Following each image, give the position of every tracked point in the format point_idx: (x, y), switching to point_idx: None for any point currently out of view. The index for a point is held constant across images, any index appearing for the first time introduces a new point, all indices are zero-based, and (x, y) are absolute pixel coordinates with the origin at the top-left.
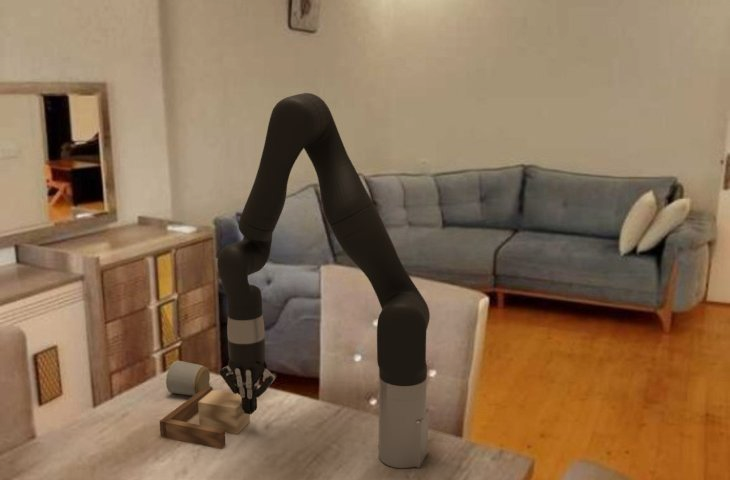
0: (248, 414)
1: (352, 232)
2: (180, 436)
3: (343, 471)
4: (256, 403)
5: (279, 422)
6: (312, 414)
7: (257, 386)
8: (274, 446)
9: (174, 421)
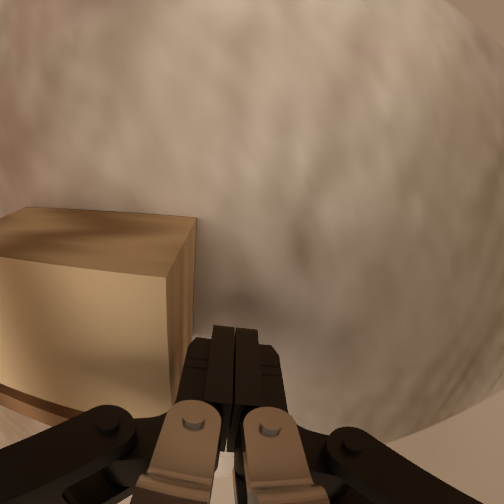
0: (189, 246)
1: None
2: None
3: (499, 388)
4: (280, 379)
5: (348, 198)
6: (459, 107)
7: (307, 477)
8: (361, 370)
9: (5, 399)
